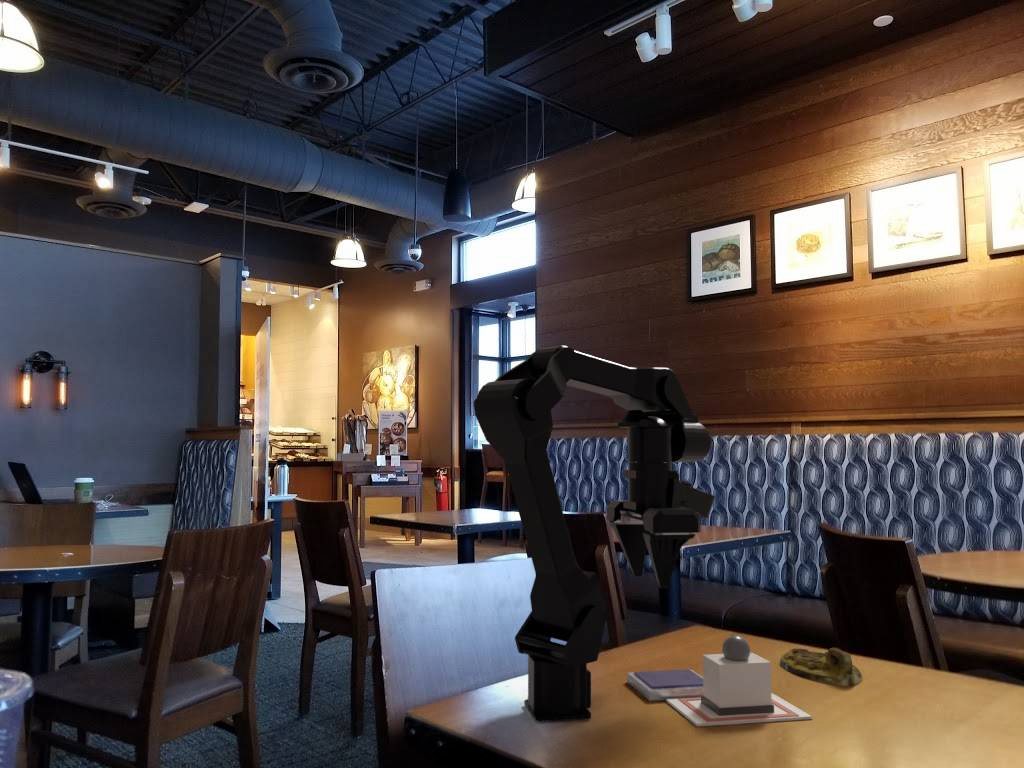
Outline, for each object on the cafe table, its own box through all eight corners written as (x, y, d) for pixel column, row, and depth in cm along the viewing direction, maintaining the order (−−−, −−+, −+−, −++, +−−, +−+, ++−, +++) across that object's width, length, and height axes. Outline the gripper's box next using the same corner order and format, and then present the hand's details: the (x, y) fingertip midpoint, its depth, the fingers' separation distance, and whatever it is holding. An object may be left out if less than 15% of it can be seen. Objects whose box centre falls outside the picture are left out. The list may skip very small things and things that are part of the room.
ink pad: (649, 701, 95) (649, 688, 96) (626, 681, 103) (626, 670, 103) (718, 697, 97) (718, 685, 97) (691, 678, 105) (691, 667, 105)
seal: (762, 667, 116) (823, 697, 101) (758, 634, 116) (818, 660, 102) (818, 656, 118) (886, 685, 104) (814, 625, 118) (881, 648, 104)
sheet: (696, 726, 87) (696, 722, 87) (666, 701, 95) (666, 698, 95) (811, 719, 90) (811, 715, 90) (772, 695, 98) (772, 692, 98)
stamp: (774, 712, 91) (772, 639, 91) (719, 715, 89) (718, 641, 90) (753, 699, 95) (752, 630, 96) (701, 702, 94) (700, 632, 95)
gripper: (739, 464, 98) (741, 592, 96) (678, 461, 116) (678, 569, 115) (654, 464, 95) (655, 595, 94) (605, 461, 114) (605, 571, 112)
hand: (650, 581), depth 104 cm, fingers open, 9 cm apart
